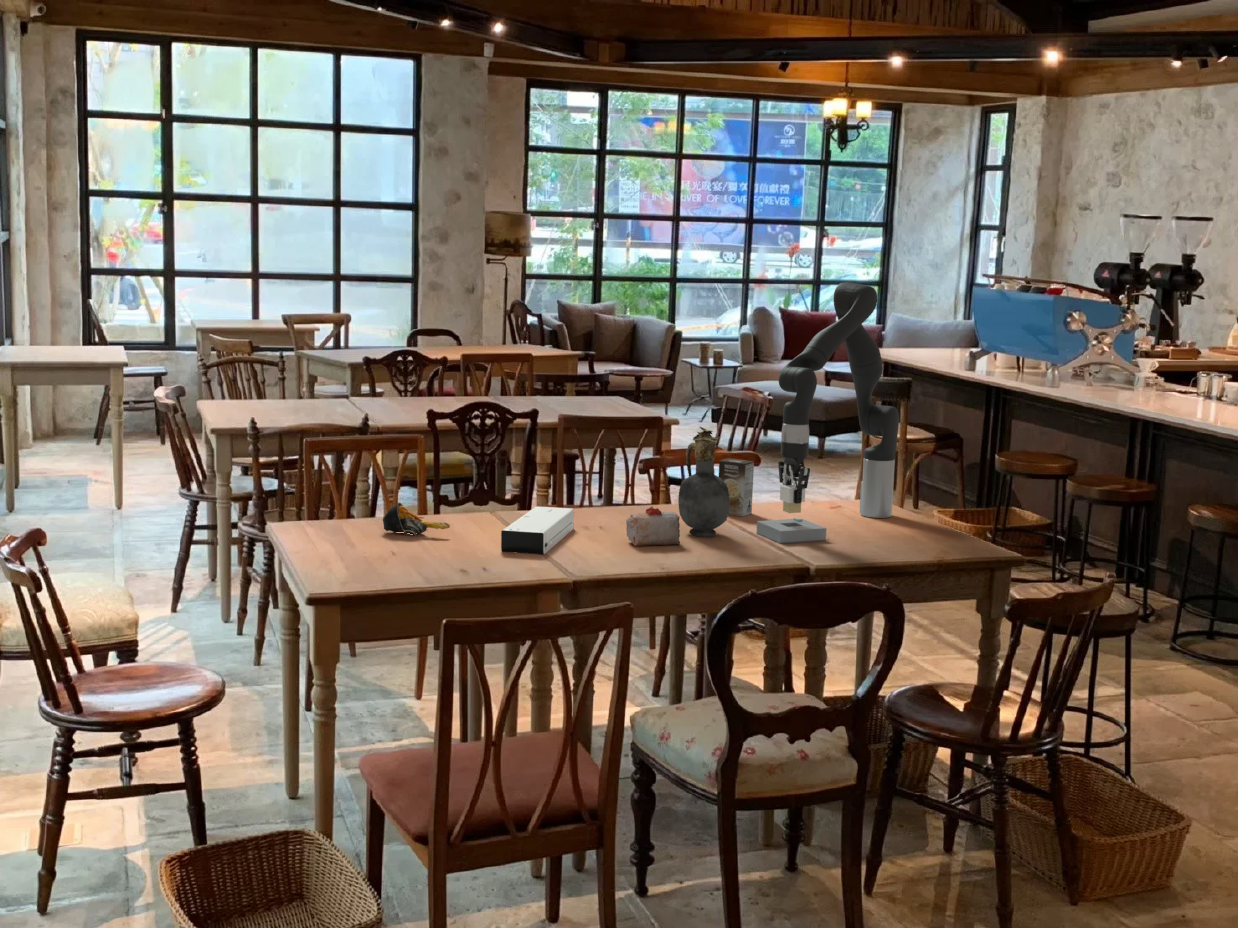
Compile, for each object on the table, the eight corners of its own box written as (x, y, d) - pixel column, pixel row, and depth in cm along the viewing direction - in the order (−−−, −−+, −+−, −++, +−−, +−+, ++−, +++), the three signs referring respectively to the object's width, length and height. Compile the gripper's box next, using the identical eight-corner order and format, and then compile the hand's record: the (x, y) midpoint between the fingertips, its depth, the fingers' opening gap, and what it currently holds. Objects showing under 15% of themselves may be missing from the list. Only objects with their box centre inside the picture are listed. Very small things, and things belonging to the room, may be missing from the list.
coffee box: (715, 513, 399) (717, 460, 396) (725, 509, 404) (727, 457, 401) (743, 516, 394) (745, 463, 391) (753, 513, 399) (754, 460, 396)
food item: (632, 548, 350) (632, 511, 348) (624, 541, 358) (625, 505, 356) (681, 546, 353) (682, 509, 352) (673, 539, 361) (673, 504, 359)
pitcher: (697, 541, 359) (700, 431, 354) (668, 527, 376) (670, 422, 372) (733, 538, 363) (736, 430, 358) (702, 525, 380) (706, 421, 376)
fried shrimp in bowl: (386, 511, 367) (447, 493, 366) (394, 549, 365) (456, 531, 363) (374, 505, 359) (437, 486, 357) (383, 544, 356) (446, 524, 354)
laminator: (535, 527, 375) (535, 506, 374) (577, 530, 372) (577, 508, 371) (501, 553, 342) (501, 530, 341) (547, 556, 339) (547, 533, 338)
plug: (779, 510, 367) (780, 485, 366) (795, 509, 369) (796, 484, 367) (788, 513, 362) (789, 488, 361) (804, 512, 364) (805, 487, 363)
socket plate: (756, 533, 371) (757, 519, 370) (800, 530, 376) (801, 516, 375) (780, 543, 358) (780, 529, 357) (825, 540, 363) (826, 526, 362)
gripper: (770, 437, 368) (768, 497, 370) (795, 444, 354) (793, 506, 357) (794, 436, 370) (791, 496, 373) (820, 443, 357) (817, 505, 360)
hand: (792, 501), depth 365 cm, fingers closed on plug, 5 cm apart
